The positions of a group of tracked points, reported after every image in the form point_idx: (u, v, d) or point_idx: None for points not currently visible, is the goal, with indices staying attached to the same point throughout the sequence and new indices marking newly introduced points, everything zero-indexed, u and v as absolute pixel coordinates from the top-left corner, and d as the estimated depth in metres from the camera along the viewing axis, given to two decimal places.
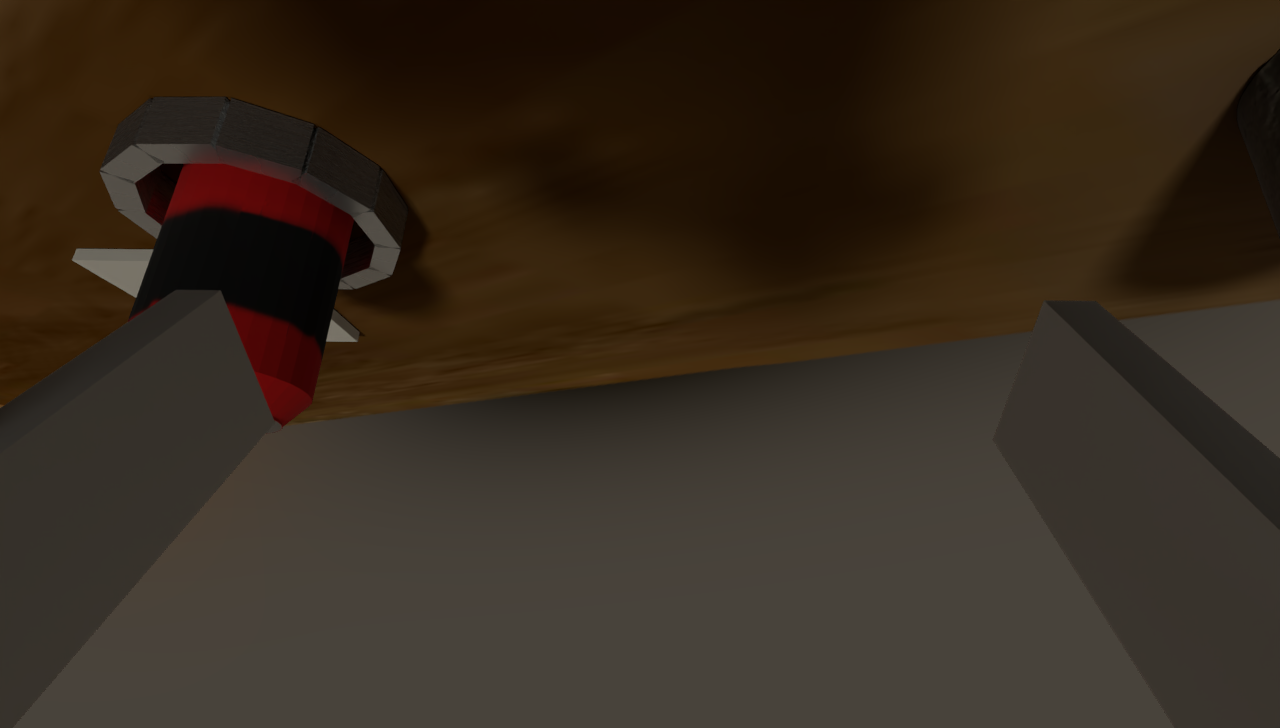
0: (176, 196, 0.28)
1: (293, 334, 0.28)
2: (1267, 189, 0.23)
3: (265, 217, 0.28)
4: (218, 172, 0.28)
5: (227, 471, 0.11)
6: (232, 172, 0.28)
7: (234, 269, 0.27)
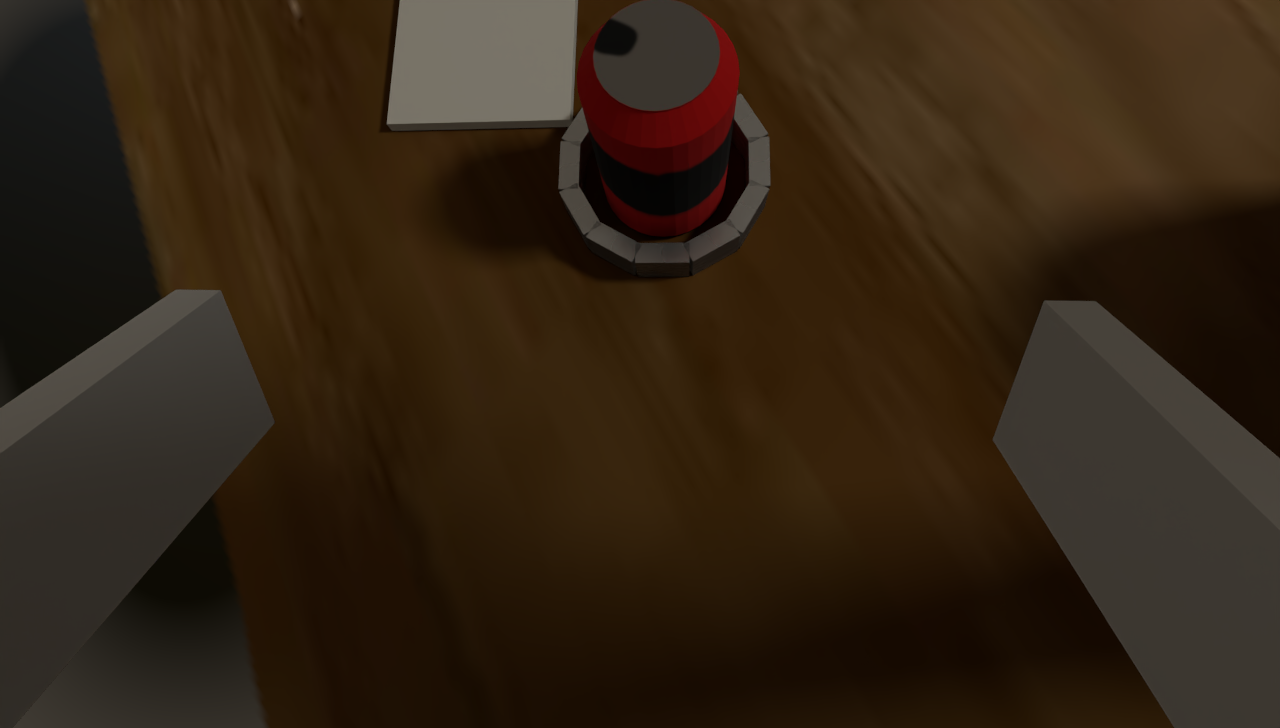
0: None
1: (681, 167, 0.31)
2: None
3: (716, 187, 0.36)
4: None
5: (227, 471, 0.11)
6: None
7: (724, 154, 0.33)
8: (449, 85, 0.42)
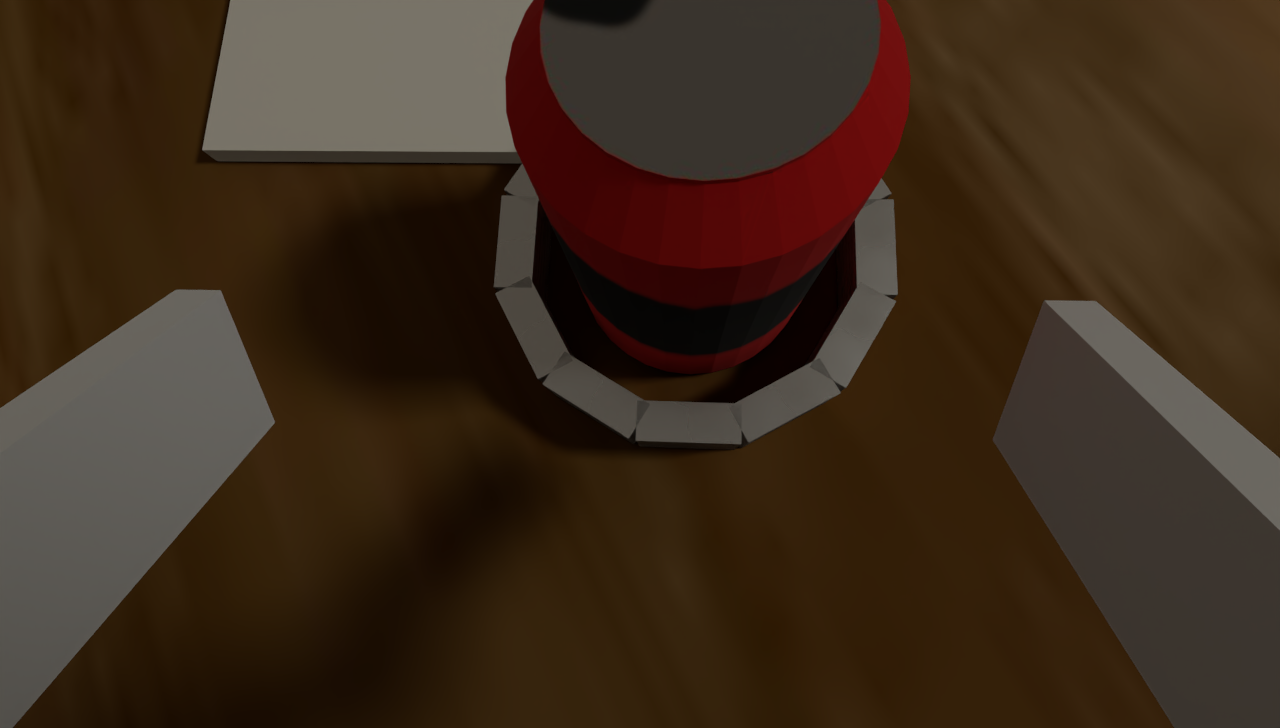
0: None
1: (751, 296, 0.13)
2: None
3: (799, 302, 0.18)
4: None
5: (227, 471, 0.11)
6: None
7: None
8: (315, 84, 0.24)
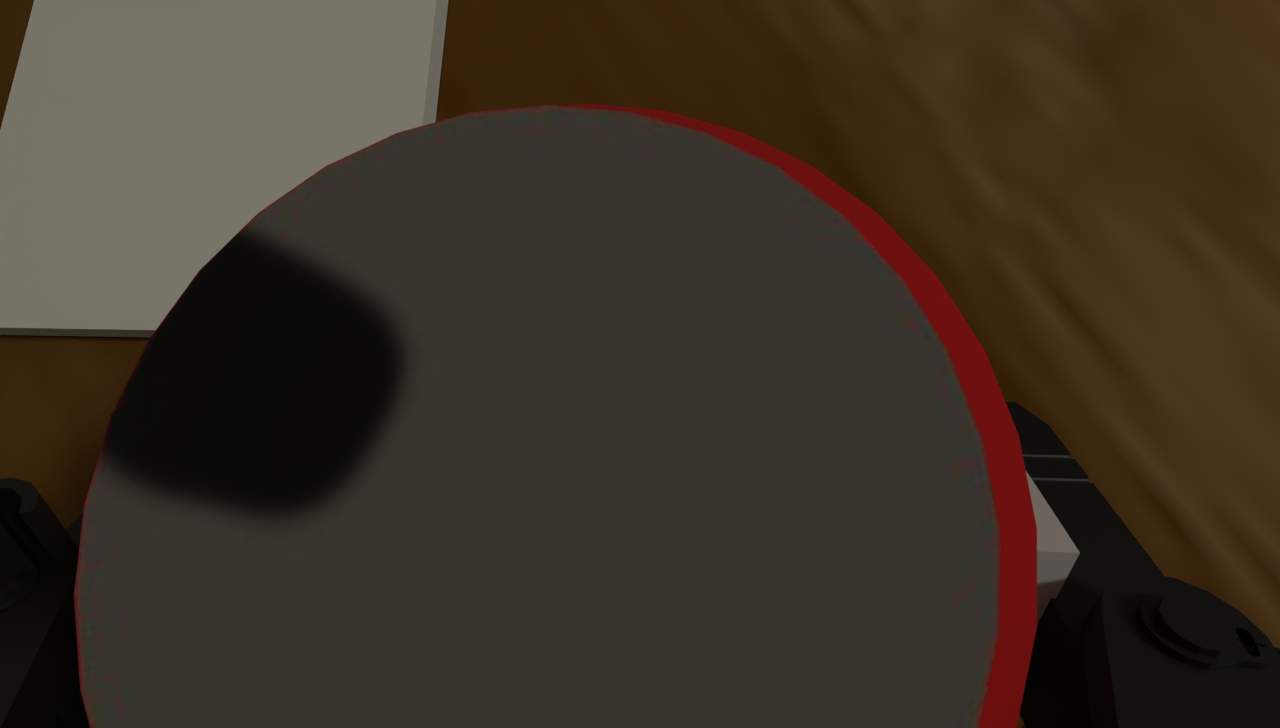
0: None
1: None
2: None
3: None
4: None
5: None
6: None
7: None
8: (113, 230, 0.17)
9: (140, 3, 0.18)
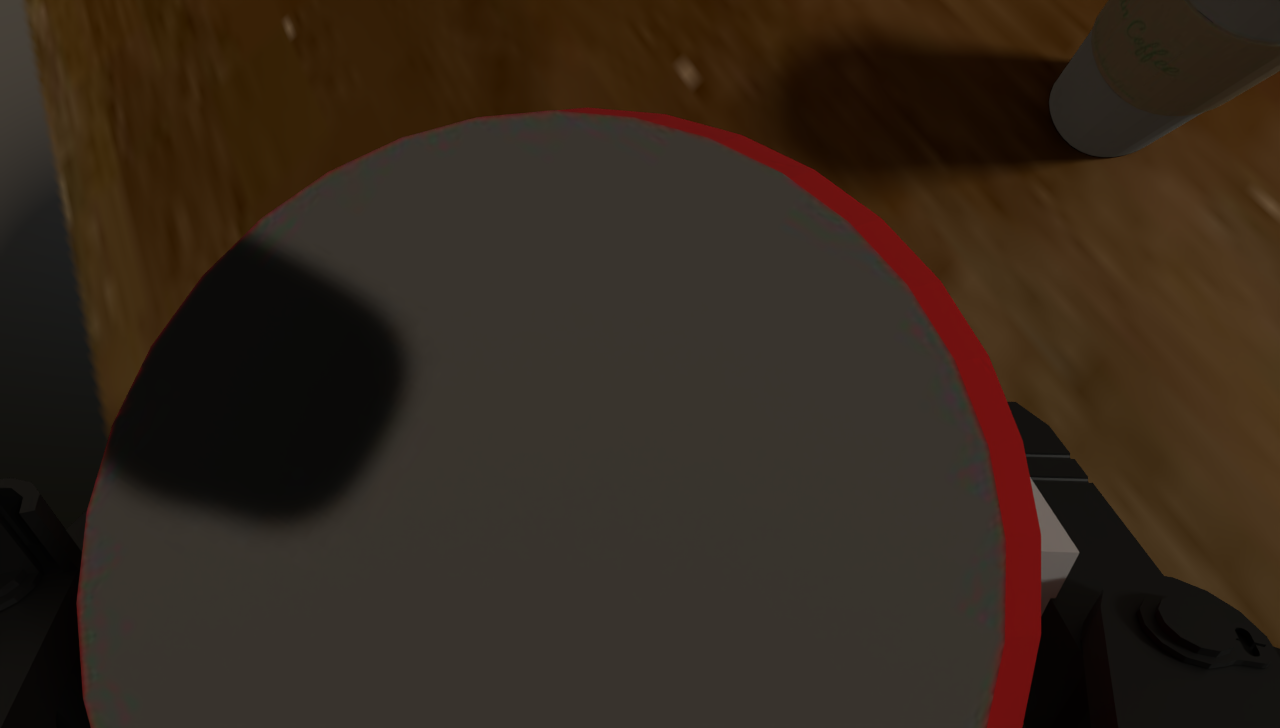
0: None
1: None
2: None
3: None
4: None
5: None
6: None
7: None
8: None
9: None
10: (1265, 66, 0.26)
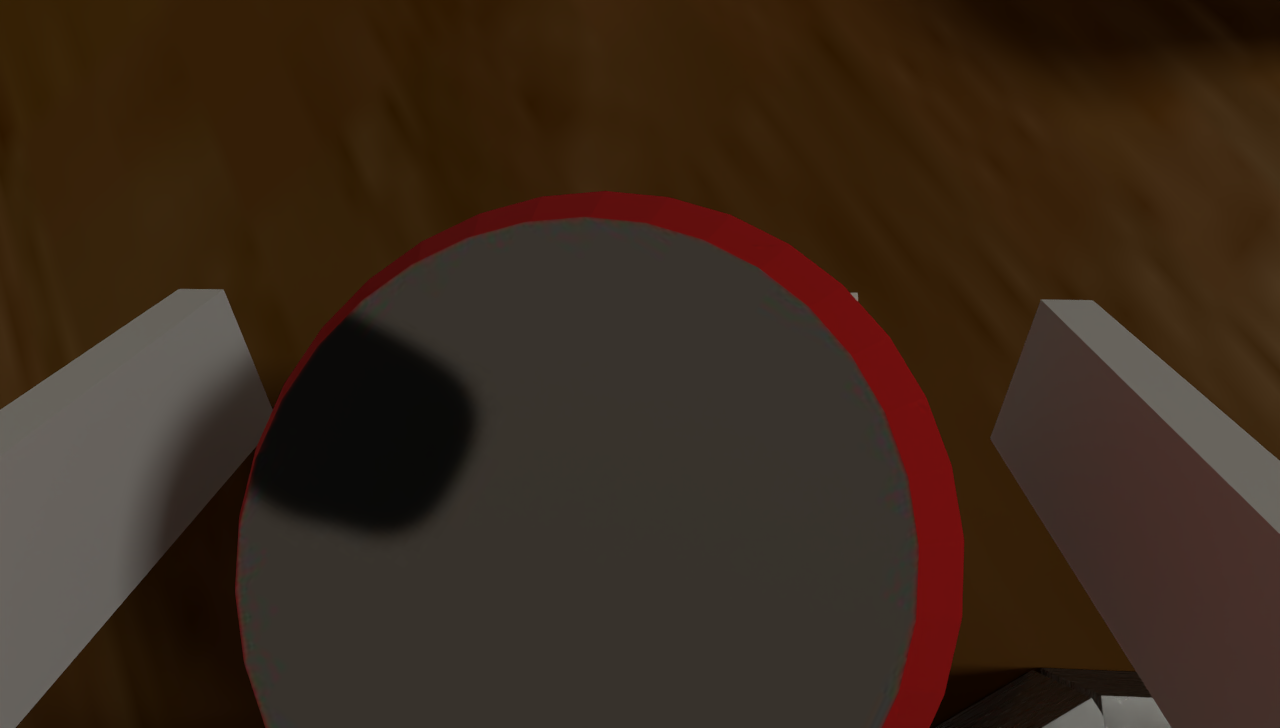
0: None
1: None
2: None
3: None
4: None
5: (230, 470, 0.11)
6: None
7: None
8: None
9: None
10: None
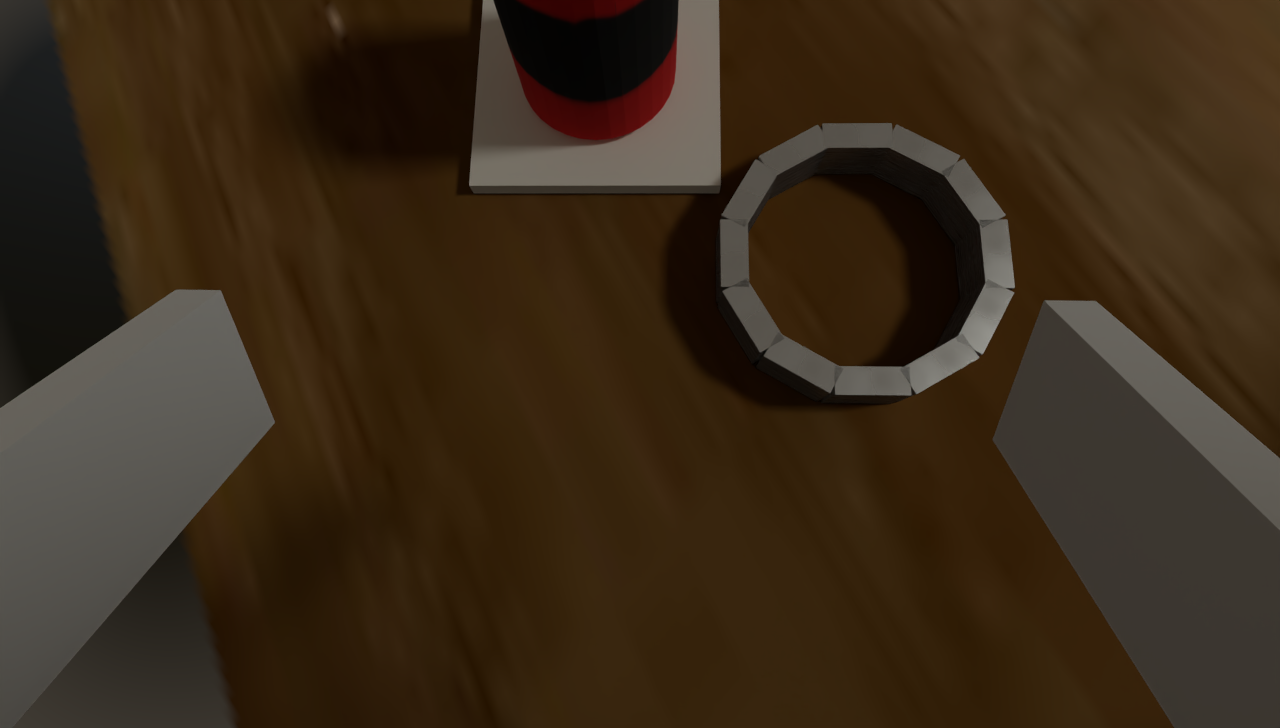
0: None
1: (606, 9, 0.23)
2: None
3: (659, 64, 0.27)
4: (676, 49, 0.30)
5: (227, 471, 0.11)
6: (675, 62, 0.29)
7: (667, 7, 0.25)
8: (553, 134, 0.31)
9: None
10: None
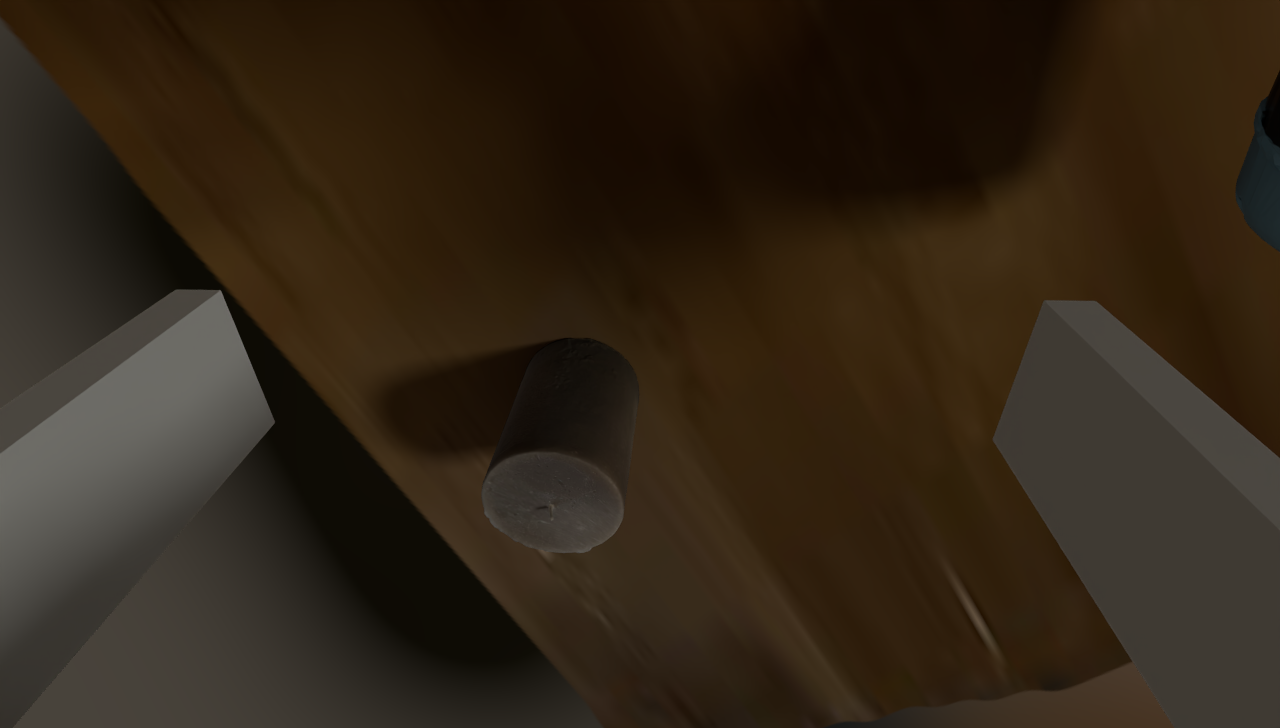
0: None
1: None
2: (537, 371, 0.48)
3: None
4: None
5: (227, 471, 0.11)
6: None
7: None
8: None
9: None
10: None
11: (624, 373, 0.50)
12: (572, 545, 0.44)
